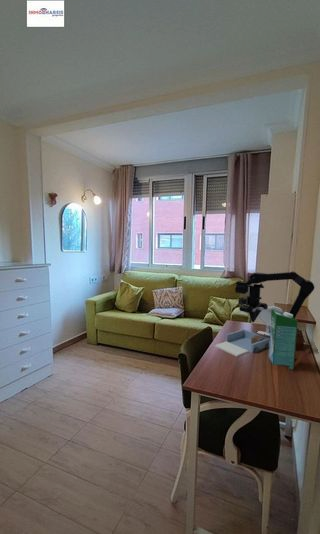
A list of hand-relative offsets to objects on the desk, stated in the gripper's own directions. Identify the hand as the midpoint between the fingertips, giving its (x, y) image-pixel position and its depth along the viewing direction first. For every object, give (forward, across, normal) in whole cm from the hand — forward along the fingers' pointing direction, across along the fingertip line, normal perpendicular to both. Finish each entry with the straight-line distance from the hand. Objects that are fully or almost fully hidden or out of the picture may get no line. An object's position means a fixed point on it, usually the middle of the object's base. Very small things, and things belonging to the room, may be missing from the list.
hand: (252, 322), depth 141 cm
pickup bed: (+12, +7, +2) cm, 14 cm away
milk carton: (+12, +11, +23) cm, 28 cm away
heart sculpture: (+12, -21, -3) cm, 24 cm away
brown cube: (+10, +5, +6) cm, 13 cm away
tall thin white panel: (+10, +16, +2) cm, 19 cm away
